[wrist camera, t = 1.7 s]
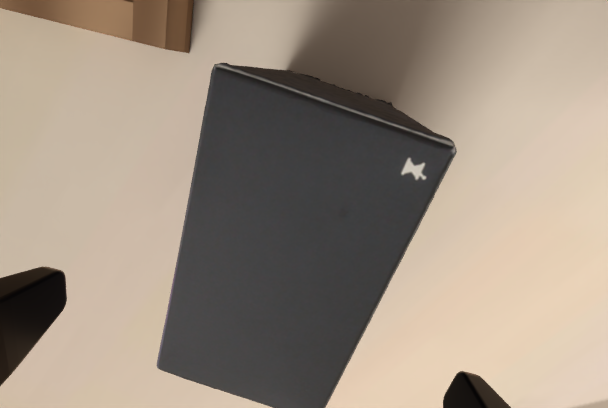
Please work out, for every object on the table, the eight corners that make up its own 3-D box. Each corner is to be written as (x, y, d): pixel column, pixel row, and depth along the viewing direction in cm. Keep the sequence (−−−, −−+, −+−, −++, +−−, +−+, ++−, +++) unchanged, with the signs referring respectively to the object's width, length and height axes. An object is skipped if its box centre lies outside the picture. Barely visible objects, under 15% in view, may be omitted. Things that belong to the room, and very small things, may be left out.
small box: (278, 63, 17) (199, 44, 7) (396, 104, 17) (478, 139, 7) (233, 235, 21) (143, 375, 11) (329, 267, 21) (325, 431, 11)
